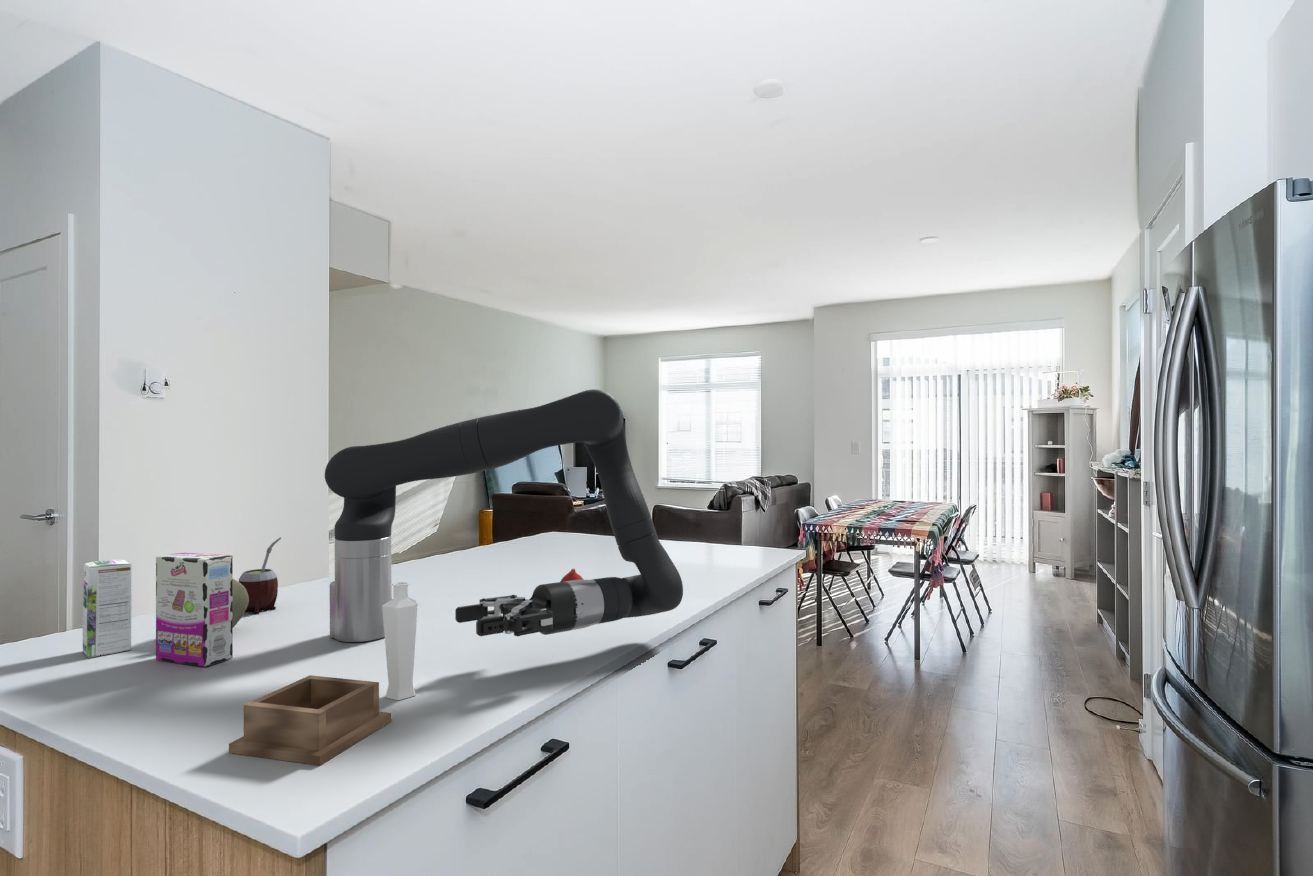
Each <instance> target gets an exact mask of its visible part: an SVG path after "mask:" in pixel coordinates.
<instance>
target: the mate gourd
mask: <svg viewBox="0 0 1313 876" xmlns="http://www.w3.org/2000/svg"><path fill="white" fill-rule="evenodd" d="M281 539H282V537H279V538H277V539H276V540H275V541H273V542H272V543H271V544H270V545H269V547H267V549H266V552H265V553H266V554H265V556H264V557H265V558H264V560H263V563H262V567H261V568H258V569H250V570H245V571H243V572H242V573H241V574H240V576H239V578H238V582H240V583H241V584H242V585H243V586H244V587H245V589H246V590H247V593H248V597H249V603H248V606H247V609H246V610H245V612H244V613H254V615H259V614H260V613H261V612H264V611H275V610H276V608H277V607H276V605H275V604H276V601H277V598H278V593H279V592H278V591H279V590H278V589H279V587H278V586H279V581H278V576H277V573H276V572H275V571H274V570H273V569H272V568H271V569H270V568H266V566H267V563H268V560H269V557H270V554H271V553H272V550H273V547H274V546H275V545H276V544H277V543H278V542H279V541H280V540H281Z"/></svg>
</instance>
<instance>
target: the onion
mask: <svg viewBox="0 0 1313 876" xmlns="http://www.w3.org/2000/svg"><path fill="white" fill-rule="evenodd" d="M572 580H585V579H584V578H583V577H582V576H581V575H580V574H578V573H577V571H576V568H571V569H570V570H569V572H568V573H566V574H565V575H564V576H563V577H562V578H561V580H560V581H559V582H564V581H572Z"/></svg>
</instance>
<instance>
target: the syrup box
mask: <svg viewBox="0 0 1313 876" xmlns="http://www.w3.org/2000/svg"><path fill="white" fill-rule="evenodd" d="M132 569H133V564H132V562H129V561H127V560H126V559H105V560H97V561H96V560H95V561H90V562H89V561H88V562H86V563H84V565H83V593H82V594H83V595H82V597H83V599H82V601H83V602H82V652H83V653H84V654H85V655H86V657H88V658H94V657H100V655H101V656H107V655H111V654H116V653H120V652H126V651H130V650H132V608H133V607H132V603H133V602H132V601H133V598H132V597H133V595H132V594H133V589H132V588H133V570H132Z"/></svg>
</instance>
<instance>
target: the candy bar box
mask: <svg viewBox="0 0 1313 876" xmlns="http://www.w3.org/2000/svg"><path fill="white" fill-rule="evenodd" d="M233 564H234V563H233V555H230V554H229V555H228V554H216V553H215V554H213V553H198V552H197V553H196V552H195V553H194V552H179V553H178V552H177V553H171V554H164V555H158V556H156V557H155V660H156V661H159V662H160V661H161V662H167V663H175V664H180V665H187V666H195V667H203V668H205V667H209V666H213V665H216V664H219V663H223V662H226V661H229V660H232V659H233V653H234V652H233V650H234V649H233V628H232V616H233V613H232V600H233V594H232V590H233V587H232V582H233V581H232V579H234V575H233V567H234V566H233Z"/></svg>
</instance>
